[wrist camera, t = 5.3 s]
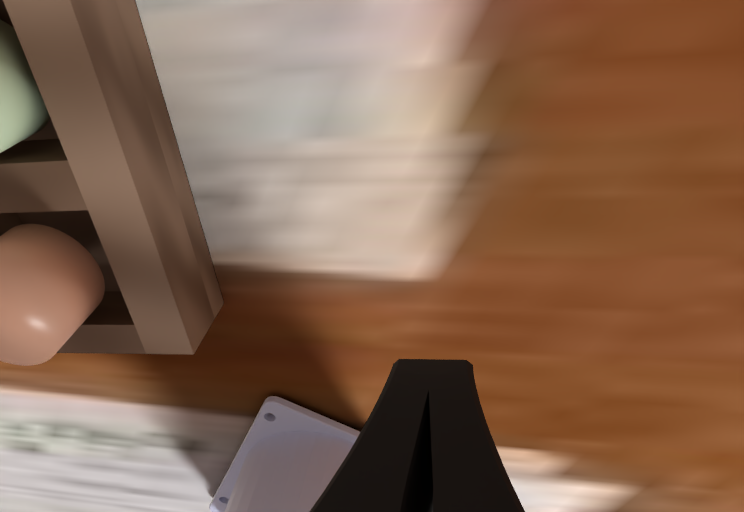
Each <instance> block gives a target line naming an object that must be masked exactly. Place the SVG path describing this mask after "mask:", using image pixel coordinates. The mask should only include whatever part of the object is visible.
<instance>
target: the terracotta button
mask: <svg viewBox="0 0 744 512" xmlns="http://www.w3.org/2000/svg"><path fill="white" fill-rule="evenodd" d="M104 292H105V282H104V277H103V274H102V271H101V269H100V267H99V265H98V264H97V262H96V260H95V259H94V258H93V256H92V255H91V254H90V253H89V252H88V251H87V250H86V248H85V247H83V246H82V245H81V244H80V243H79V242H78V241H76V240H75V239H73V238H72V237H70V236H69V235H67V234H65V233H63V232H61V231H59V230H57V229H54V228H52V227H49V226H45V225H39V224H22V225H18V226H15V227H13V228H11V229H9V230H8V231H7V232H5V233H4V234H3V235H1V236H0V361H3V362H7V363H10V364H16V365H25V366H27V365H37V364H41V363H44V362H46V361H48V360H49V359H51V358H52V357H53V356H54V355H55V354H56V353H57V351H58V350H59V349H60V348H61V347H62V346H63V345H64V344H65V342H66V341H67V340H68V339H69V338H70V337H71V336H72V335H73V333H74V332H75V331H76V330H77V329H78V328H79V327H80V326H81V325H82V323H83V322H84V321H85V320H86V319H87V318H88V317H89V316H90V314H91V313H92V312H93V311H94V310H95V309H96V308H97V307H98V305H99V304H100V303H101V301H102V299H103V296H104Z"/></svg>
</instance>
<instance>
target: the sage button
mask: <svg viewBox="0 0 744 512" xmlns="http://www.w3.org/2000/svg"><path fill="white" fill-rule="evenodd" d="M49 120H50V115H49V113H48V110H47V108H46V105H45V103H44V100H43V98H42V95H41V93H40V91H39V88H38V86H37V83H36V81H35V78H34V76H33V73H32V71H31V68H30V66H29V63H28V61H27V58H26V56H25V54H24V51H23V49H22V46H21V44H20V41H19V39H18V36H17V34H16V31H15V29H14V28H13V27H12V26H10V25H9V24H7V23H6V22H4V21H2V20H0V153H1V152H3V151H5V150H6V149H8V148H10V147H12V146H14V145H15V144H17V143H19V142H21V141H23V140H24V139H26V138H28V137H30V136H32V135H33V134H35V133H37V132H39V131H40V130H41V129H43V128H44V127H45V125H46V124H47V123H48V121H49Z"/></svg>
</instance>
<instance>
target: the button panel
mask: <svg viewBox="0 0 744 512" xmlns="http://www.w3.org/2000/svg"><path fill="white" fill-rule="evenodd" d="M0 20H2V21H4V22H6V23H7V24H9V25H10V26H12V27H13V28H14V29H15V31H16V34H17V36H18V39H19V41H20V44H21V46H22V49H23V51H24V54H25V56H26V58H27V61H28V63H29V66H30V68H31V71H32V73H33V76H34V78H35V81H36V83H37V86H38V88H39V91H40V93H41V95H42V98H43V100H44V103H45V105H46V108H47V110H48V113H49V115H50V120H49V121H48V123H47V124H46V125H45V127H44V128H43V129H41V130H40V131H39V132H37V133H35V134H33V135H32V136H30V137H28V138H26V139H24V140H23V141H21V142H19V143H17V144H15V145H14V146H12V147H10V148H8V149H6V150H5V151H3V152H1V153H0V236H1V235H3V234H4V233H5V232H7V231H8V230H9V229H11V228H13V227H15V226H18V225H22V224H39V225H45V226H49V227H52V228H54V229H57V230H59V231H61V232H63V233H65V234H67V235H69V236H70V237H72V238H73V239H75V240H76V241H78V242H79V243H80V244H81V245H82V246H83V247H85V248H86V250H87V251H88V252H89V253H90V254H91V255H92V256H93V258H94V259H95V260H96V262H97V264H98V265H99V267H100V269H101V271H102V274H103V277H104V282H105V292H104V296H103V299H102V301H101V303H100V304H99V305H98V307H97V308H96V309H95V310H94V311H93V312H92V313H91V314H90V316H89V317H88V318H87V319H86V320H85V321H84V322H83V323H82V325H81V326H80V327H79V328H78V329H77V330H76V331H75V332H74V333H73V335H72V336H71V337H70V338H69V339H68V340H67V341H66V342H65V344H64V345H63V346H62V347H61V348H60V349H59V350H58V351H57V353H114V354H194V353H195V352H196V350H197V348H198V346H199V345H200V343H201V341H202V340H203V338H204V336H205V334H206V333H207V331H208V329H209V328H210V326H211V324H212V323H213V321H214V319H215V317H216V316H217V314H218V312H219V311H220V309H221V307H222V306H223V304H224V301H223V298H222V294H221V291H220V288H219V284H218V281H217V277H216V274H215V271H214V267H213V264H212V261H211V257H210V254H209V250H208V247H207V244H206V240H205V237H204V233H203V230H202V227H201V223H200V220H199V216H198V213H197V210H196V206H195V203H194V200H193V196H192V193H191V189H190V186H189V183H188V179H187V176H186V172H185V169H184V166H183V162H182V159H181V155H180V152H179V149H178V145H177V142H176V139H175V135H174V132H173V128H172V125H171V122H170V118H169V115H168V111H167V108H166V105H165V101H164V98H163V94H162V91H161V88H160V84H159V81H158V78H157V74H156V71H155V67H154V64H153V61H152V57H151V54H150V50H149V47H148V44H147V40H146V37H145V33H144V30H143V27H142V23H141V20H140V17H139V13H138V10H137V6H136V3H135V0H0Z"/></svg>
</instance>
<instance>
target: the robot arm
mask: <svg viewBox="0 0 744 512" xmlns="http://www.w3.org/2000/svg"><path fill="white" fill-rule="evenodd" d="M269 413H271V414H269ZM272 414H273V415H272ZM209 508H210V510H211V512H525V511H524V509H523V507H522V505H521V503H520V501H519V499H518V496H517V494H516V492H515V490H514V488H513V486H512V484H511V482H510V479H509V477H508V475H507V473H506V470H505V468H504V466H503V464H502V461H501V459H500V456H499V454H498V451H497V449H496V446H495V444H494V441H493V439H492V436H491V434H490V431H489V428H488V426H487V423H486V420H485V417H484V414H483V410H482V407H481V404H480V401H479V397H478V393H477V389H476V385H475V380H474V374H473V365H472V364H471V363H470V362H468V361H467V360H429V359H399V360H398V361H396V362H395V363H394V364H393V367H392V369H391V372H390V375H389V377H388V379H387V382H386V384H385V386H384V388H383V390H382V393H381V395H380V397H379V399H378V401H377V403H376V405H375V407H374V409H373V411H372V412H371V414H370V416H369V418H368V420H367V422H366V423H365V425H364V427H363V429H362V430H361V432H360V431H357V430H355V429H353V428H350V427H348V426H346V425H343V424H341V423H339V422H336V421H334V420H332V419H329V418H327V417H325V416H322V415H320V414H318V413H315V412H313V411H311V410H308V409H306V408H303V407H301V406H299V405H296V404H294V403H292V402H289V401H287V400H285V399H282V398H280V397H277V396H270V397H267V398H266V399H265V401H264V403H263V405H262V407H261V408H260V410H259V412H258V414H257V416H256V418H255V420H254V422H253V424H252V425H251V427H250V429H249V431H248V433H247V435H246V437H245V439H244V441H243V442H242V444H241V446H240V448H239V450H238V452H237V454H236V456H235V458H234V460H233V461H232V463H231V465H230V467H229V469H228V471H227V473H226V475H225V477H224V478H223V480H222V482H221V484H220V486H219V488H218V490H217V492H216V494H215V495H214V497H213V499H212V501H211V504H210V507H209Z"/></svg>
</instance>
